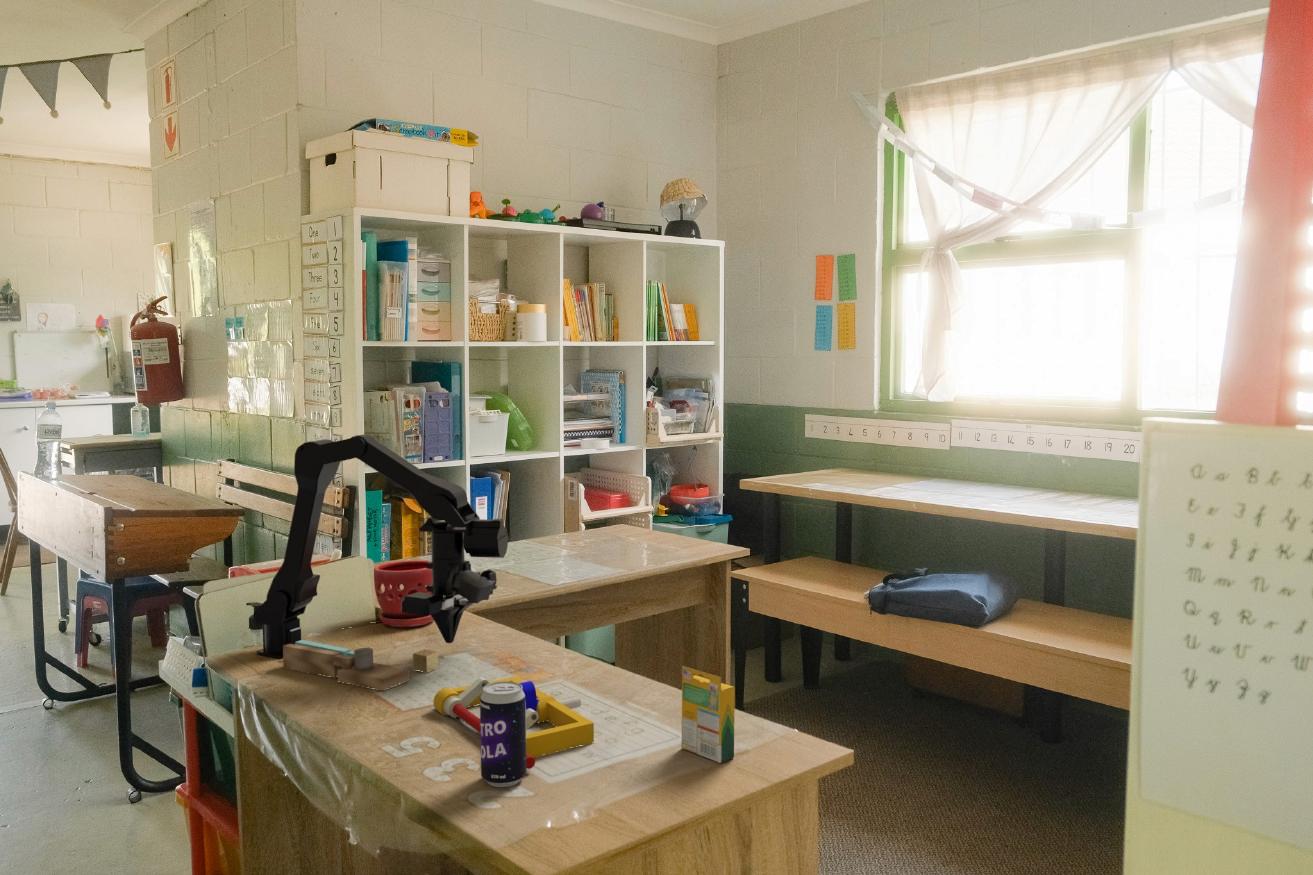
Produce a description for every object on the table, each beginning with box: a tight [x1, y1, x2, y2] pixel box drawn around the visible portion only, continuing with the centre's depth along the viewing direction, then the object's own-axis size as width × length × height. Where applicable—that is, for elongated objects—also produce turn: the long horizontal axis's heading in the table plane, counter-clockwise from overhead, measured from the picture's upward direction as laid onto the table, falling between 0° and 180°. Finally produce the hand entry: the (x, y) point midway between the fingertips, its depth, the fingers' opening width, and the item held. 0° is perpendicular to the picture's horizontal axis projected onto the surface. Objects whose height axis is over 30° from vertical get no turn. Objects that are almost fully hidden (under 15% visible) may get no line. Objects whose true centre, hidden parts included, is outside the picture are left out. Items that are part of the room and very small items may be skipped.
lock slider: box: [412, 648, 439, 673], centre depth 169 cm, size 3×3×3 cm
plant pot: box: [373, 560, 434, 628], centre depth 200 cm, size 13×13×12 cm
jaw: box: [295, 639, 355, 669], centre depth 169 cm, size 15×2×4 cm, turn 60°
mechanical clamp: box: [433, 676, 595, 770], centre depth 142 cm, size 18×6×30 cm
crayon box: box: [681, 665, 736, 764], centre depth 132 cm, size 7×3×12 cm, turn 44°
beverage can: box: [479, 681, 527, 788], centre depth 124 cm, size 6×6×12 cm
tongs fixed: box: [282, 644, 410, 691], centre depth 166 cm, size 24×6×5 cm, turn 62°
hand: (449, 642), depth 175 cm, fingers closed
